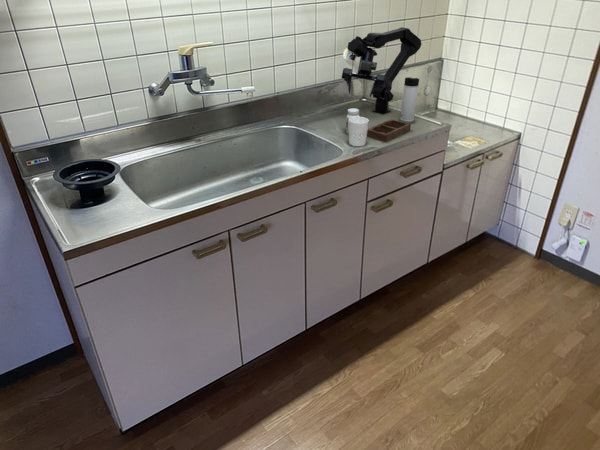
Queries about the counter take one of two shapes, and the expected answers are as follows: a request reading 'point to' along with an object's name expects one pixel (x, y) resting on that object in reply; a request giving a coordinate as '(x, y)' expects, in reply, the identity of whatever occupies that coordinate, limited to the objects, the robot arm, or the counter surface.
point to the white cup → (358, 131)
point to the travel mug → (409, 100)
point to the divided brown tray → (388, 130)
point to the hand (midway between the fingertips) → (359, 95)
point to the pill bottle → (351, 113)
